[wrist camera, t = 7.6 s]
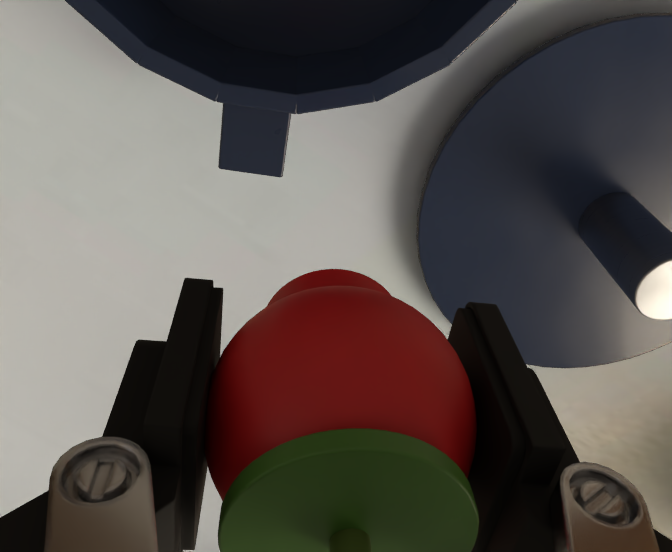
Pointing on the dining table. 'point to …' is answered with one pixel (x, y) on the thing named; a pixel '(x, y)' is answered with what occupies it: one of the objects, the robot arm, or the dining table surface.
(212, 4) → the pot
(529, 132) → the lid
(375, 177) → the dining table surface
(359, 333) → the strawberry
